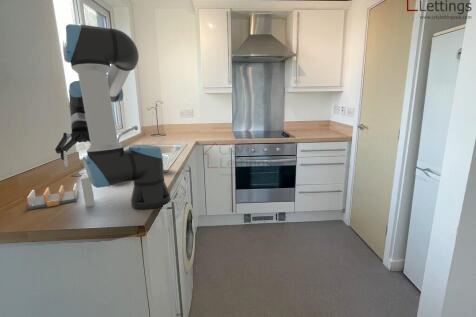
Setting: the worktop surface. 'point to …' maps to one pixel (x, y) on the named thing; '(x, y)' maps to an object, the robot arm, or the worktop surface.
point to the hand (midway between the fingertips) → (84, 163)
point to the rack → (52, 198)
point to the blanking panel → (87, 190)
